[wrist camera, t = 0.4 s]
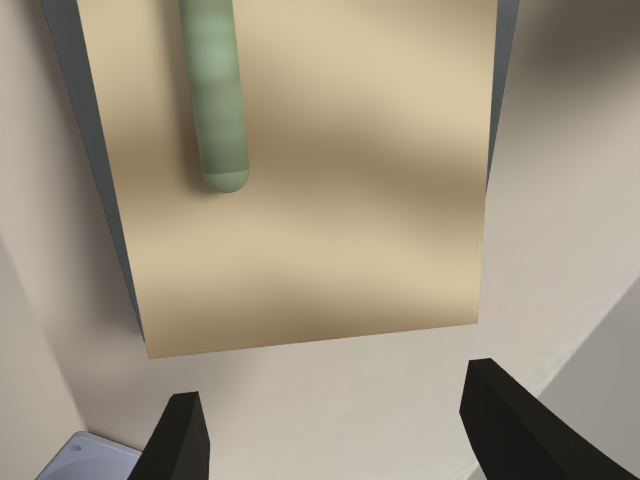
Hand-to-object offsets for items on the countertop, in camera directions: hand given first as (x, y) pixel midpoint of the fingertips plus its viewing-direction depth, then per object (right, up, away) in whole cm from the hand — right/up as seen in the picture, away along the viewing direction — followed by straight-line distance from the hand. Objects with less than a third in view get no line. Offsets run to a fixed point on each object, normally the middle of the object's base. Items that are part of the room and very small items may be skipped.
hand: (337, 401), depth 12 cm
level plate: (-1, +7, +3) cm, 8 cm away
